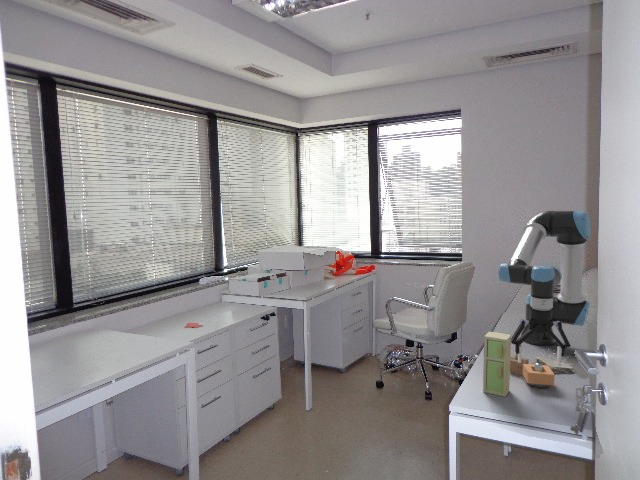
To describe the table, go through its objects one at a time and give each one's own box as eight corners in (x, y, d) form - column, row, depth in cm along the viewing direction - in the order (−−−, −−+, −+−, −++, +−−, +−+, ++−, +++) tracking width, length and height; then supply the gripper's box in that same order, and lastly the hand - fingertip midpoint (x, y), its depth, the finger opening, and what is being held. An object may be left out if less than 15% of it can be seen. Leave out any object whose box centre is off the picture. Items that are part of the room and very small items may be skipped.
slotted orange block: (522, 373, 179) (523, 363, 178) (547, 375, 177) (548, 365, 176) (527, 383, 170) (528, 372, 170) (554, 385, 168) (554, 374, 168)
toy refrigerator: (481, 392, 167) (483, 336, 164) (486, 385, 173) (488, 331, 170) (504, 398, 162) (507, 340, 160) (509, 390, 168) (511, 334, 166)
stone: (532, 361, 199) (532, 355, 199) (556, 360, 199) (556, 354, 199) (550, 374, 184) (551, 368, 184) (576, 374, 184) (577, 367, 184)
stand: (511, 366, 191) (512, 344, 190) (528, 370, 187) (529, 347, 186) (507, 371, 186) (508, 348, 185) (523, 375, 182) (525, 352, 181)
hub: (529, 379, 179) (530, 359, 178) (550, 383, 174) (551, 363, 173) (524, 385, 173) (525, 364, 172) (545, 390, 169) (546, 369, 168)
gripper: (507, 309, 170) (505, 364, 172) (581, 312, 164) (578, 369, 167) (503, 303, 177) (501, 357, 180) (575, 306, 171) (572, 361, 174)
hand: (538, 363), depth 173 cm, fingers open, 13 cm apart
